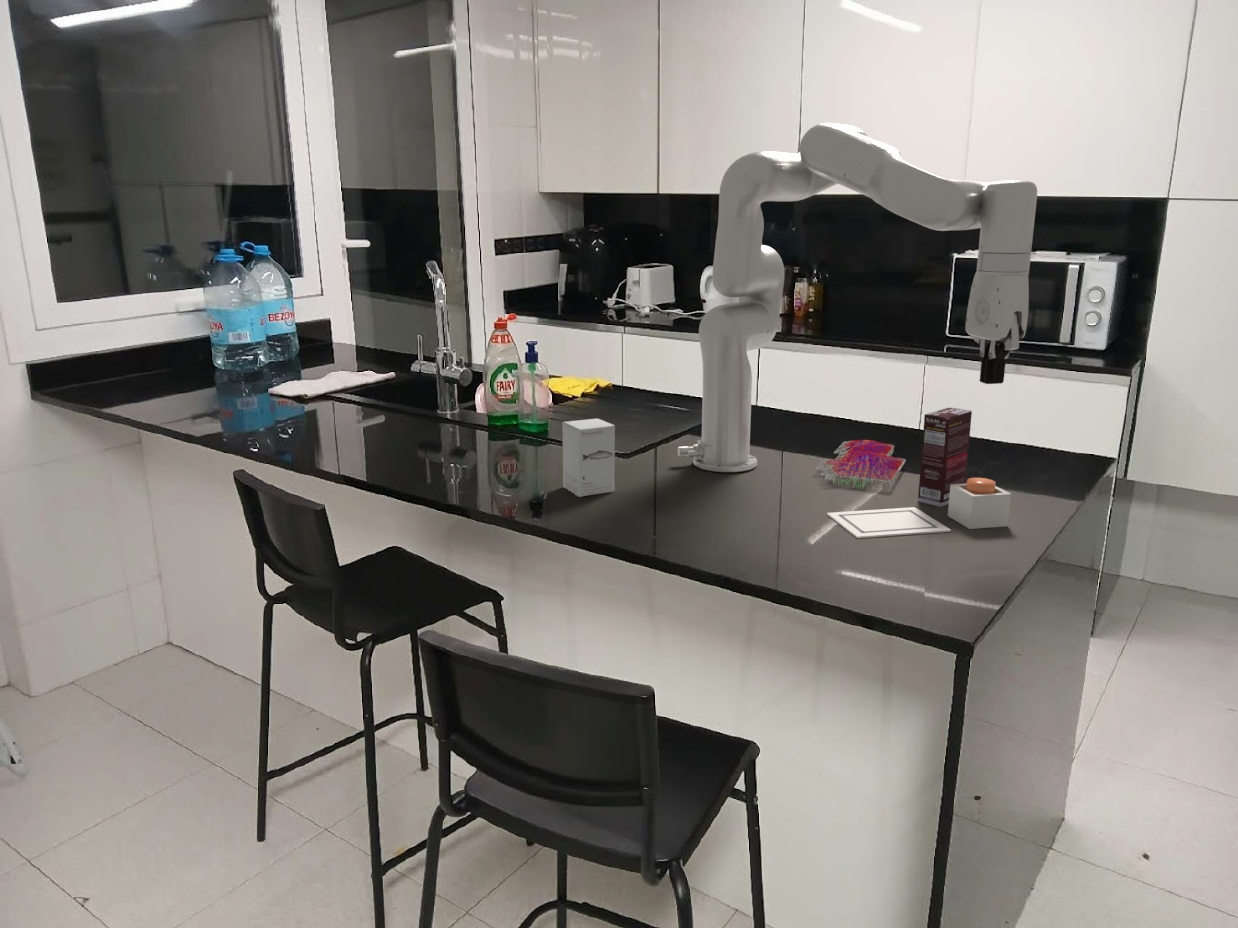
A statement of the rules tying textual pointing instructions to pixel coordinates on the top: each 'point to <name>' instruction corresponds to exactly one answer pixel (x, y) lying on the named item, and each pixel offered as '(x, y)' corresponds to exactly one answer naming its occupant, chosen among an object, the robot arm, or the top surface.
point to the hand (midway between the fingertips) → (991, 382)
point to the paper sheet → (887, 522)
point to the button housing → (979, 507)
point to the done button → (980, 486)
